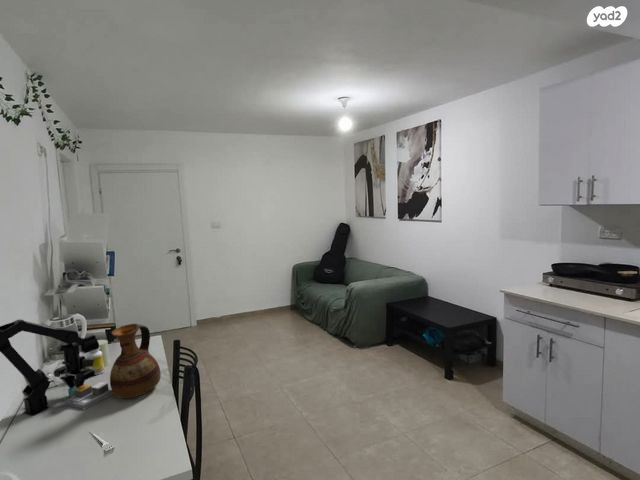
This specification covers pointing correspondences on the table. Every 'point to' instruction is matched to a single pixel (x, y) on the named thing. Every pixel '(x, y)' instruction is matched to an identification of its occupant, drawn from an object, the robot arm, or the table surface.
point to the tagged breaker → (83, 391)
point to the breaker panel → (87, 400)
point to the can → (104, 351)
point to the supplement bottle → (96, 361)
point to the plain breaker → (100, 388)
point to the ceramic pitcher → (133, 363)
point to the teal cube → (72, 391)
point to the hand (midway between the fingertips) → (77, 391)
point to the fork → (102, 442)
